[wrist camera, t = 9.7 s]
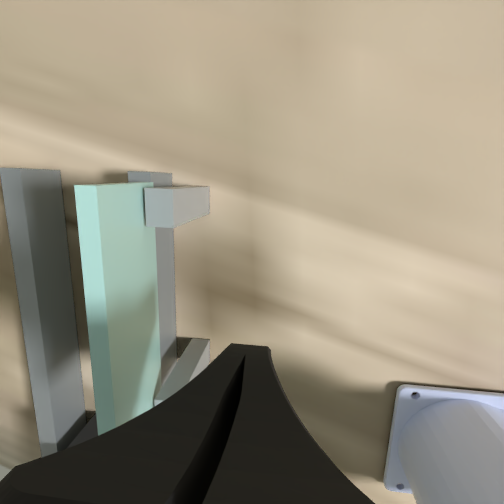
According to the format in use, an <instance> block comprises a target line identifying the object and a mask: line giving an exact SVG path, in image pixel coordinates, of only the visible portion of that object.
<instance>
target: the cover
mask: <svg viewBox="0 0 504 504" xmlns="http://www.w3.org/2000/svg"><path fill="white" fill-rule="evenodd" d="M144 188H154V186H153V182H131V183H109V184H88V185H74V189H75V200H76V210H77V221H78V231H79V241H80V252H81V262H82V273H83V283H84V293H85V304H86V314H87V325H88V335H89V345H90V356H91V366H92V377H93V387H94V397H95V408H96V418H97V429H98V436H99V435H101V434H103V433H105V432H107V431H110V430H112V429H114V428H116V427H118V426H120V425H122V424H124V423H126V422H127V421H129V420H131V419H133V418H135V417H137V416H139V415H140V414H142V413H144V412H146V411H148V410H150V409H151V408H153V407H155V403H154V399H155V398H156V396H157V394H158V393H159V391H160V390H161V388H162V383H161V358H160V334H159V309H158V284H157V260H156V235H155V227H146V212H145V191H144Z"/></svg>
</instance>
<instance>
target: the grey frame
mask: <svg viewBox="0 0 504 504" xmlns="http://www.w3.org/2000/svg"><path fill="white" fill-rule="evenodd" d="M0 176H1V183H2V190H3V197H4V204H5V210H6V217H7V224H8V231H9V238H10V244H11V251H12V258H13V265H14V272H15V279H16V285H17V292H18V299H19V306H20V313H21V319H22V326H23V333H24V340H25V347H26V354H27V360H28V367H29V374H30V381H31V388H32V394H33V401H34V408H35V415H36V422H37V429H38V435H39V442H40V449H41V456H42V457H45V456H47V455H50V454H53V453H56V452H59V451H62V450H64V449H66V448H67V447H68V446H69V445H70V444H71V442H72V441H73V440H74V439H75V438H76V436H77V435H78V434H79V433H80V431H81V430H82V429H83V428H84V427H85V425H86V424H87V423H86V413H85V404H84V394H83V385H82V375H81V365H80V356H79V346H78V337H77V327H76V318H75V308H74V299H73V289H72V280H71V270H70V261H69V251H68V241H67V232H66V222H65V213H64V203H63V194H62V184H61V175H60V170H45V169H24V168H0ZM131 182H153V186H154V188H144V191H145V212H146V227H155V235H156V260H157V284H158V309H159V334H160V358H161V383H162V388H161V390H160V391H159V393H158V394H157V396H156V398H155V399H154V403H155V406H156V405H158V404H159V403H161V402H162V401H164V400H166V399H167V398H169V397H170V396H172V395H173V394H174V393H176V392H177V391H179V390H180V389H181V388H182V387H184V386H185V385H186V384H187V383H189V382H190V381H191V380H192V379H194V378H195V377H196V376H197V375H198V374H199V373H201V372H202V371H203V370H204V369H205V368H206V367H207V366H208V364H209V362H210V340H208V339H196V338H192V339H191V341H190V343H189V344H188V346H187V347H186V349H185V351H184V352H183V354H182V356H181V357H180V359H179V360H178V362H177V343H176V307H175V271H174V234H173V228H175V227H177V226H180V225H182V224H185V223H187V222H190V221H192V220H195V219H197V218H200V217H202V216H205V215H207V214H209V213H210V203H209V187H208V186H177V187H172V173H159V172H135V171H128V183H131Z"/></svg>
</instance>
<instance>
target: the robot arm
mask: <svg viewBox="0 0 504 504" xmlns="http://www.w3.org/2000/svg"><path fill="white" fill-rule="evenodd" d="M413 392H417V394H415V395H411V394H412V393H413ZM383 482H384V485H385V487H386V489H388V490H390V491H395V492H403V493H411V494H413V495H414V498H415V500H416V503H417V504H504V393H494V392H483V391H472V390H462V389H451V388H440V387H430V386H419V385H408V384H404V385H401V386H399V387H398V389H397V393H396V399H395V406H394V413H393V419H392V426H391V432H390V439H389V446H388V452H387V459H386V465H385V472H384V479H383ZM400 483H401V484H400ZM0 504H375V503H374V502H373V501H372V500H370V499H369V498H368V497H367V496H366V495H365V494H364V493H363V492H361V491H360V490H359V489H358V488H357V487H356V486H355V485H354V484H353V483H352V482H351V481H350V480H349V479H348V478H347V477H346V476H345V475H344V474H343V473H342V472H341V471H340V470H339V469H338V468H337V467H336V466H335V464H334V463H333V462H332V461H331V460H330V458H329V457H328V456H327V455H326V454H325V452H324V451H323V450H322V449H321V448H320V447H319V445H318V444H317V443H316V442H315V440H314V439H313V438H312V436H311V435H310V433H309V432H308V431H307V429H306V428H305V426H304V425H303V423H302V422H301V420H300V419H299V417H298V416H297V414H296V412H295V411H294V409H293V407H292V406H291V404H290V402H289V400H288V398H287V396H286V394H285V392H284V390H283V388H282V386H281V384H280V381H279V379H278V376H277V374H276V371H275V369H274V365H273V362H272V358H271V350H270V349H269V347H267V346H256V345H244V344H233V343H231V344H230V345H229V346H228V347H227V348H226V349H225V350H224V351H223V352H222V353H221V354H220V355H219V356H218V357H217V358H216V359H215V360H214V361H213V362H212V363H211V364H209V365H208V366H207V367H206V368H205V369H204V370H203V371H202V372H201V373H199V374H198V375H197V376H196V377H195V378H194V379H192V380H191V381H190V382H189V383H187V384H186V385H185V386H184V387H182V388H181V389H180V390H179V391H177V392H176V393H174V394H173V395H172V396H170V397H169V398H167V399H166V400H164V401H162V402H161V403H159V404H158V405H156V406H155V407H153V408H151V409H150V410H148V411H146V412H144V413H142V414H140V415H139V416H137V417H135V418H133V419H131V420H129V421H127V422H126V423H124V424H122V425H120V426H118V427H116V428H114V429H112V430H110V431H107V432H105V433H103V434H101V435H99V436H96V437H94V438H92V439H89V440H87V441H85V442H82V443H80V444H77V445H75V446H72V447H70V448H67V449H64V450H62V451H59V452H56V453H53V454H50V455H47V456H45V457H42V458H39V459H36V460H33V461H30V462H28V463H25V464H21V465H18V466H15V467H14V468H13V469H12V470H11V471H10V472H9V473H8V474H7V475H6V476H5V477H4V478H3V479H2V480H1V481H0Z"/></svg>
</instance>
